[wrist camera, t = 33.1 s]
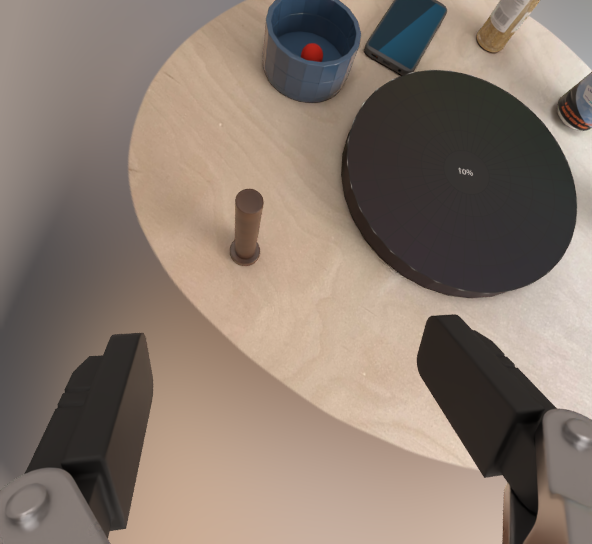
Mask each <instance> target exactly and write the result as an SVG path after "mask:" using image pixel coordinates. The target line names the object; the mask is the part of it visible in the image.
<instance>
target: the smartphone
mask: <svg viewBox="0 0 592 544" xmlns="http://www.w3.org/2000/svg"><path fill="white" fill-rule="evenodd" d="M446 13H447V9H446V6H444V5H443V4H442V3H440V2H438V1H436V0H394V1H393V3H392V4H391V6H390V8H389V9H388V11H387V12H386V14H385V15H384V17H383V18H382V20H381V21H380V23H379V24H378V26H377V28H376V29H375V31H374V32H373V34H372V35H371V37H370V38H369V40H368V41H367V43H366V45H365V49H364V50H365V53H366V54H367V55H368V56H369V57H371V58H373V59H375V60H376V61H378V62H380V63H381V64H383V65H385V66H387V67H388V68H390V69H392V70H394V71H395V72H397V73H399V74H401V75H406V74H409V73H413V71H414V69H415V68H416V66H417V64H418V62H419V61H420V59H421V57H422V55H423V54H424V52H425V50H426V48H427V47H428V45H429V43H430V41H431V40H432V38H433V36H434V34H435V33H436V31H437V29H438V28H439V26H440V24H441V22H442V20H443V19H444V17H445V15H446Z"/></svg>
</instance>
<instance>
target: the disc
mask: <svg viewBox="0 0 592 544" xmlns="http://www.w3.org/2000/svg"><path fill="white" fill-rule="evenodd" d="M341 175H342V181H343V188H344V194H345V198H346V201H347V204H348V206H349V209H350V212H351V215H352V217H353V219H354V221H355V223H356V224H357V226H358V228H359V229H360V231H361V233H362V235H363V236H364V238H365V240H366V241H367V242H368V243H369V244H370V245H371V247H372V248H373V249H374V250H375V251H376V252H377V253H378V255H379V256H380V257H381V258H382V259H383V260H384V261H385V262H387V263H388V264H389V265H390V266H392V267H393V268H394V269H395V270H396V271H398V272H399V273H400V274H401V275H403V276H405V277H407V278H408V279H410V280H412V281H414V282H416V283H417V284H419V285H421V286H423V287H425V288H428V289H431V290H434V291H437V292H440V293H443V294H446V295H451V296H458V297H466V298H478V297H490V296H495V295H498V294H501V293H504V292H508V291H512V290H515V289H518V288H521V287H524V286H527V285H530V284H532V283H534V282H535V281H537V280H538V279H540V278H541V277H543V276H545V275H546V274H548V273H549V272H550V271H551V270H552V269H553V267H554V266H555V265H556V264H557V263H558V262H559V261H560V260H561V259H562V257H563V255H564V253H565V252H566V250H567V248H568V246H569V244H570V242H571V240H572V236H573V232H574V228H575V225H576V216H577V197H576V191H575V184H574V179H573V176H572V174H571V171H570V168H569V165H568V162H567V159H566V157H565V156H564V154H563V152H562V150H561V148H560V146H559V144H558V142H557V141H556V139H555V138H554V137H553V135H552V134H551V132H550V131H549V130H548V128H547V127H546V126H545V124H544V123H543V122H542V121H541V120H540V119H539V118H538V117H537V116H536V115H535V114H534V113H533V112H532V111H531V110H530V109H529V108H528V107H527V106H526V105H524V104H523V103H522V102H520V101H519V100H518V99H517V98H515V97H514V96H513V95H511V94H510V93H508V92H506V91H505V90H503V89H501V88H499V87H497V86H496V85H494V84H492V83H490V82H487V81H485V80H482V79H480V78H477V77H474V76H472V75H467V74H463V73H458V72H453V71H441V70H427V71H420V72H413V73H409V74H406V75H403V76H401V77H398V78H395V79H392V80H391V81H389V82H388V83H386V84H385V85H383V86H381V87H380V88H378V89H377V90H376V91H375V92H374V93H373V94H372V95H371V96H370V97H369V98H368V99H367V100H366V101H365V102H364V103H363V105H362V107H361V109H360V110H359V112H358V114H357V116H356V117H355V119H354V121H353V125H352V128H351V130H350V132H349V134H348V137H347V141H346V144H345V147H344V151H343V156H342V174H341Z"/></svg>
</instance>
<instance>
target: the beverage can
mask: <svg viewBox="0 0 592 544" xmlns="http://www.w3.org/2000/svg"><path fill="white" fill-rule="evenodd" d="M558 114H559V116H560V118H561V120H562V121H563V122H564V123H565V124H566V125H567V126H569V127H570V128H572V129H576V130H583V131H585V130H589V129H590V128H592V72H591V73H590V74H589V75H587V76H586V77H585V78H584V79H583V80H581V81H580V82H579V83H578V84H577V85H575V86H574V87H573V88H572V89H571V90H569V91H568V92H567V93H566V94H564V95H563V96H562V97H561V98H560V99H559V101H558Z"/></svg>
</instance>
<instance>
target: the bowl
mask: <svg viewBox="0 0 592 544" xmlns="http://www.w3.org/2000/svg"><path fill="white" fill-rule="evenodd" d="M360 38H361V32H360V28H359V24H358V21H357V19H356V18H355V16H354V15H353V13H352V12H351V10H350V9H349V8H348V7H347V6H345V5H344V4H343V3H342V2H340V1H339V0H275V1H274V2H273V4H272V5H271V6H270V7H269V10H268V14H267V17H266V24H265V35H264V46H263V68H264V72H265V75H266V77H267V78H268V80H269V82H270V83H271V84H272V85H273V87H274V88H275V89H277V90H278V91H279V92H280V93H282V94H283V95H285V96H287V97H289V98H291V99H294V100H297V101H301V102H309V103H314V102H321V101H325V100H328V99H330V98H332V97H333V96H335V95H336V94H337V93H338V92H339V91H340V90H341V89H342V87H343V85H344V83H345V81H346V80H347V77H348V74H349V72H350V69H351V66H352V64H353V61H354V58H355V56H356V53H357V50H358V48H359V44H360ZM310 43H315V44H317V45H319V46H320V48H321V49H322V52H323V60H322V62H317V61H309V60H306V59H303V58H301V52H302V50H303V48H304V47H305V46H306V45H307V44H310Z"/></svg>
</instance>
